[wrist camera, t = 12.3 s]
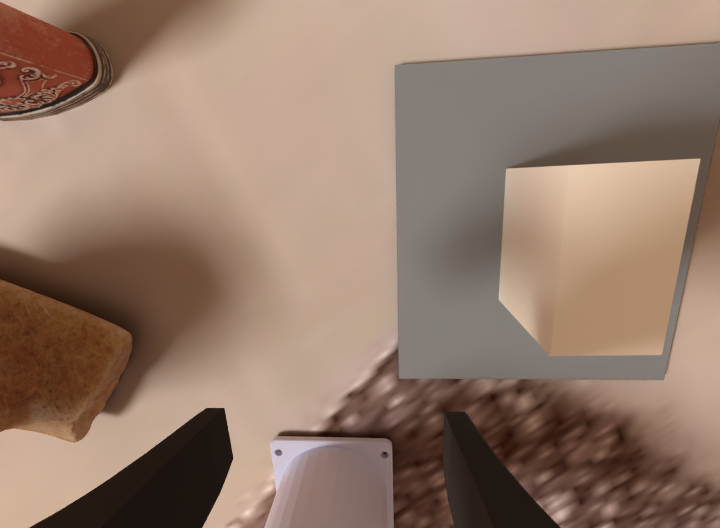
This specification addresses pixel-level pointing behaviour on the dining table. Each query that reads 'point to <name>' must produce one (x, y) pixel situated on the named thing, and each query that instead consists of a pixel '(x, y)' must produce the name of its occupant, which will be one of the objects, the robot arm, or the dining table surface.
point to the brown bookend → (55, 364)
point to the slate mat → (522, 150)
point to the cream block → (595, 253)
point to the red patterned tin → (46, 68)
